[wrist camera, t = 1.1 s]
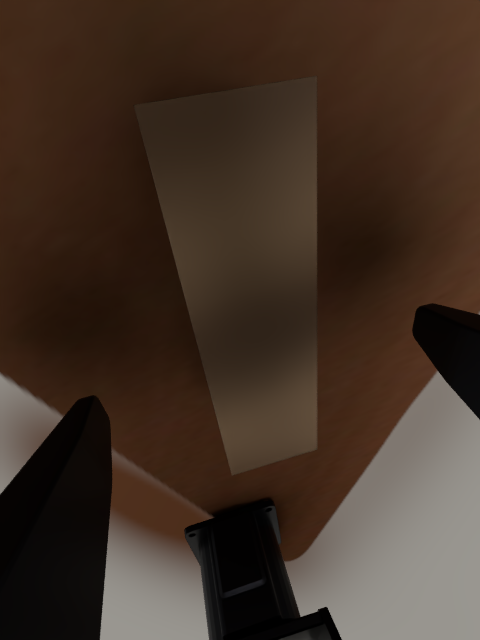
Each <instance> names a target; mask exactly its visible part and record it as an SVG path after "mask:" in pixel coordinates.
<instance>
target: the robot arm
mask: <svg viewBox="0 0 480 640" xmlns="http://www.w3.org/2000/svg"><path fill="white" fill-rule="evenodd" d="M412 332H413V336H414V338H415V340H416V341H417V342H418V344H419V345H420V347H421V348H422V349H423V351H424V352H425V353H426V355H427V356H428V358H429V359H430V360H431V362H432V363H433V365H434V366H435V367H436V369H437V370H438V371H439V373H440V374H441V375H442V377H443V378H444V379H445V381H446V382H447V383H448V384H449V385H450V386H451V388H452V389H453V390H454V391H455V392H456V393H457V394H458V396H459V397H460V398H461V399H462V400H463V401H464V402H465V403H466V404H467V406H468V407H469V408H470V409H471V410H472V411H473V412H474V414H475V415H476V416H477V417H478V418H479V419H480V315H478V314H474V313H470V312H466V311H462V310H458V309H454V308H450V307H446V306H442V305H438V304H433V303H432V304H427V305H423V306H420V307H418V308H417V310H416V313H415V318H414V324H413V329H412ZM111 493H112V455H111V429H110V420H109V417H108V415H107V413H106V411H105V409H104V407H103V406H102V404H101V402H100V400H99V399H98V397H96V396H94V395H92V396H88V397H85V398H81V399H79V400H77V401H76V403H75V404H74V405H73V406H72V407H71V409H70V410H69V411H68V412H67V414H66V415H65V416H64V417H63V418H62V420H61V421H60V422H59V423H58V425H57V426H56V427H55V428H54V429H53V431H52V432H51V433H50V434H49V436H48V437H47V438H46V439H45V440H44V442H43V443H42V444H41V446H40V447H39V448H38V449H37V450H36V452H35V453H34V454H33V455H32V456H31V458H30V459H29V460H28V461H27V462H26V464H25V465H24V466H23V467H22V469H21V470H20V471H19V472H18V473H17V475H16V476H15V477H14V478H13V480H12V481H11V482H10V484H9V485H8V486H7V487H6V488H5V489H4V491H3V492H2V493H1V494H0V640H100V629H101V617H102V605H103V592H104V579H105V568H106V555H107V543H108V530H109V518H110V506H111V505H110V504H111ZM184 531H185V538H186V540H187V542H188V544H189V545H190V548H191V549H192V551H193V553H194V555H195V557H196V558H197V560H198V562H199V564H200V566H201V575H202V582H203V592H204V600H205V609H206V617H207V626H208V634H209V640H342V639H341V637H340V635H339V632H338V630H337V628H336V626H335V624H334V622H333V619H332V617H331V615H330V613H329V610H328V608H327V607H324V608H321V609H318V611H317V612H315V613H312V614H309V615H306V616H303V617H300V613H299V610H298V607H297V604H296V600H295V597H294V594H293V590H292V587H291V584H290V580H289V577H288V574H287V571H286V567H285V564H284V561H283V557H282V554H281V551H280V547H279V544H280V543H281V538H280V532H279V526H278V520H277V514H276V508H275V505H274V502H273V501H272V500H268V501H264V502H261V503H258V504H255V505H252V506H249V507H246V508H243V509H240V510H237V511H234V512H230V513H227V514H224V515H221V516H218V517H215V518H212V519H209V520H206V521H203V522H200V523H197V524H194V525H191V526H188V527H187V528H185V530H184Z"/></svg>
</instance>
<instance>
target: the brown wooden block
mask: <svg viewBox="0 0 480 640" xmlns="http://www.w3.org/2000/svg"><path fill="white" fill-rule="evenodd" d="M134 108H135V112H136V116H137V120H138V124H139V127H140V131H141V135H142V139H143V142H144V146H145V150H146V154H147V157H148V161H149V165H150V169H151V172H152V176H153V180H154V184H155V188H156V191H157V195H158V199H159V203H160V206H161V210H162V214H163V218H164V221H165V225H166V229H167V233H168V236H169V240H170V244H171V248H172V252H173V255H174V259H175V263H176V267H177V270H178V274H179V278H180V282H181V285H182V289H183V293H184V297H185V300H186V304H187V308H188V312H189V316H190V319H191V323H192V327H193V331H194V334H195V338H196V342H197V346H198V349H199V353H200V357H201V361H202V364H203V368H204V372H205V376H206V379H207V383H208V387H209V391H210V395H211V398H212V402H213V406H214V410H215V413H216V417H217V421H218V425H219V428H220V432H221V436H222V440H223V443H224V447H225V451H226V455H227V459H228V462H229V466H230V470H231V474H232V475H235V474H239V473H242V472H245V471H248V470H252V469H255V468H258V467H261V466H265V465H268V464H271V463H274V462H278V461H281V460H284V459H287V458H291V457H294V456H297V455H300V454H304V453H307V452H310V451H313V450H317V76H313V77H307V78H300V79H294V80H288V81H282V82H275V83H269V84H263V85H257V86H250V87H244V88H238V89H231V90H225V91H219V92H213V93H206V94H200V95H194V96H188V97H181V98H175V99H169V100H162V101H156V102H150V103H144V104H137V105H134Z"/></svg>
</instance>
